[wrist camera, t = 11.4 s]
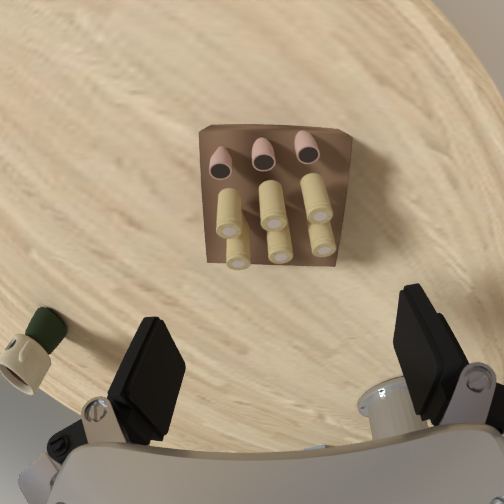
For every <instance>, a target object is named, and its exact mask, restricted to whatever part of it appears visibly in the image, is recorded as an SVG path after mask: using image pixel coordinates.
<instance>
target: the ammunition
mask: <svg viewBox="0 0 504 504" xmlns="http://www.w3.org/2000/svg"><path fill="white" fill-rule="evenodd" d="M294 145H295V151H296V155H297V159H298V160H299V161H300V162H301V163H304V164H311V163H314V162H316V161H317V160H318V159H319V156H320V152H319V149H318V146H317V143H316V141H315V139H314V138H313V136H312V135H311V134H310V133H309V132H307V131H304V130H302V131H299V132H298V133H297V134H296V137H295V142H294ZM275 163H276V162H275V155H274V150H273V147H272V145H271V143H270V142H269V141H268V140H267V139H266V138H262V137H261V138H258V139H257V140H256V141H255V143H254V145H253V148H252V165H253V167H254V168H255V169H256V170H258V171H268V170H271V169H272V168H273V167H274V166H275ZM231 173H232V158H231V156H230V155H229V153H228V151H227V150H226V148H225V147H223V146H220V147H218V149H217V150H216V151H215V153H214V154H213V155H212V157H211V159H210V166H209V174H210V175H211V176H212V177H213V178H215V179H218V180H224V179H227V178H228V177H229V176H230V175H231ZM300 184H301V189H302V194H303V199H304V204H305V209H306V221H307V226H308V232H309V237H310V243H311V248H312V253H313V255H315V256H317V257H327V256H330V255H332V254H333V253H334V252H335V251H336V244H335V240H334V236H333V232H332V228H331V224H330V220H331V218H332V217H333V211H332V207H331V204H330V200H329V197H328V194H327V190H326V187H325V184H324V181H323V178H322V176H321V175H319V174H316V173H310V174H307V175H305V176H304V177H303V178H302V179H301V182H300ZM259 201H260V217H261V226H262V228H263V229H265V230H267V244H268V254H269V255H268V257H269V260H270V261H271V262H273V263H276V264H283V263H287V262H289V261H290V260H291V259H292V258H293V252H292V251H293V249H292V243H291V236H290V229H289V223H288V218H287V216H286V209H285V203H284V197H283V191H282V186H281V184H280V183H279V182H277V181H274V180H268V181H265V182H263V183H262V184H261V185H260V186H259ZM216 226H217V227H216V233H217V234H218V235H219V236H220V237H222V238H225V239H227V248H226V259H227V260H226V265H227V266H228V267H229V268H231V269H234V270H242V269H246V268H247V267H249V266H250V264H251V261H250V240H249V225H248V223H247V220H246V218H245V216H244V214H243V212H242V210H241V194H240V192H239V191H238V190H236V189H233V188H226V189H223V190H222V191H220V193H219V195H218V208H217V224H216Z"/></svg>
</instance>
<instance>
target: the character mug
mask: <svg viewBox="0 0 504 504" xmlns="http://www.w3.org/2000/svg"><path fill="white" fill-rule="evenodd" d="M66 334H67V330H66V327H65V325H64V324H63V323H62V321H61V320H60V319H59V318H58V317H57V316H56V315H55V314H54V313H52V312H51V311H50V310H49V309H48V308H44V307H40V308H38V309H37V311H36V312H35V314H34V316H33V317H32V319H31V321H30V323H29V325H28V327H27V329H26V332H25V335H23V334H16V335H15V336H14V337H13V339H12V340H11V342H10V343H9V345H8V346H7V348H6V349H5V350H4V352H3V353H2V355H1V356H0V372H1V374H2V375H3V376H4V377H5V378H6V379H7V380H8V381H9V382H10V383H11V384H12V385H13V386H15V387H16V388H18V389H19V390H20V391H22V392H24V393H26V394H28V395H32V396H33V395H34V394H35V393H36V391H37V389H38V388H39V386H40V384H41V382H42V380H43V378H44V377H45V375H46V373H47V371H48V369H49V368H50V366H51V359H50V357H49V354H51V353H52V352H53V350H54V349H55V348H56V347H57V346H58V345H59V344H60V342H61V341H62V340H63V338H64V337H65V336H66Z"/></svg>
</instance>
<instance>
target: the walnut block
mask: <svg viewBox="0 0 504 504" xmlns="http://www.w3.org/2000/svg"><path fill="white" fill-rule="evenodd" d="M302 130H304V131H307V132H309V133H310V134H311V135H312V136H313V138H314V139H315V141H316V143H317V146H318V149H319V152H320V156H319V159H318V160H317V161H316V162H314V163H311V164H304V163H301V162H300V161H299V160H298V159H297V155H296V151H295V145H294V142H295V137H296V134H297V133H298V132H299V131H302ZM261 137H262V138H266V139H267V140H268V141H269V142H270V143H271V145H272V147H273V150H274V155H275V162H276V163H275V166H274V167H273V168H272V169H271V170H268V171H258V170H256V169H255V168H254V167H253V165H252V148H253V145H254V143H255V141H256V140H257V139H258V138H261ZM220 146H223V147H225V148H226V150H227V151H228V153H229V155H230V156H231V158H232V173H231V175H230V176H229V177H228V178H227V179H224V180H218V179H215V178H213V177H212V176H211V175H210V174H209V166H210V159H211V157H212V155H213V154H214V153H215V151H216V150H217V149H218V147H220ZM351 148H352V137H351V136H350V135H348V134H346V133H344V132H343V131H341V130H339V129H332V128H321V127H307V126H290V125H260V124H226V125H210V126H208V127H206V128H205V129H203V130H201V131H200V132H199V149H200V169H201V187H202V203H203V217H204V231H205V243H206V255H207V263H226V260H227V259H226V248H227V239H225V238H222V237H220V236H219V235H218V234H217V233H216V227H217V226H216V224H217V208H218V195H219V193H220V191H222V190H223V189H226V188H233V189H236V190H238V191H239V192H240V194H241V210H242V212H243V214H244V216H245V218H246V220H247V223H248V225H249V240H250V261H251V264H262V265H295V266H332V267H335V266H336V260H337V254H338V249H339V242H340V236H341V230H342V223H343V216H344V209H345V202H346V194H347V186H348V177H349V168H350V159H351ZM310 173H316V174H319V175H321V176H322V178H323V181H324V184H325V187H326V190H327V194H328V197H329V200H330V204H331V207H332V211H333V217H332V218H331V220H330V224H331V228H332V232H333V236H334V240H335V244H336V251H335V252H334V253H333V254H332V255H330V256H327V257H317V256H315V255H313V253H312V248H311V243H310V237H309V232H308V226H307V221H306V209H305V204H304V199H303V194H302V189H301V184H300V182H301V179H302V178H303V177H304V176H305V175H307V174H310ZM268 180H274V181H277V182H279V183H280V184H281V186H282V191H283V197H284V203H285V209H286V216H287V218H288V223H289V229H290V236H291V243H292V249H293V251H292V252H293V258H292V259H291V260H290V261H289V262H287V263H283V264H276V263H273V262H271V261H270V260H269V257H268V255H269V254H268V244H267V230H265V229H263V228H262V226H261V217H260V201H259V186H260V185H261V184H262V183H263V182H265V181H268Z"/></svg>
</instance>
